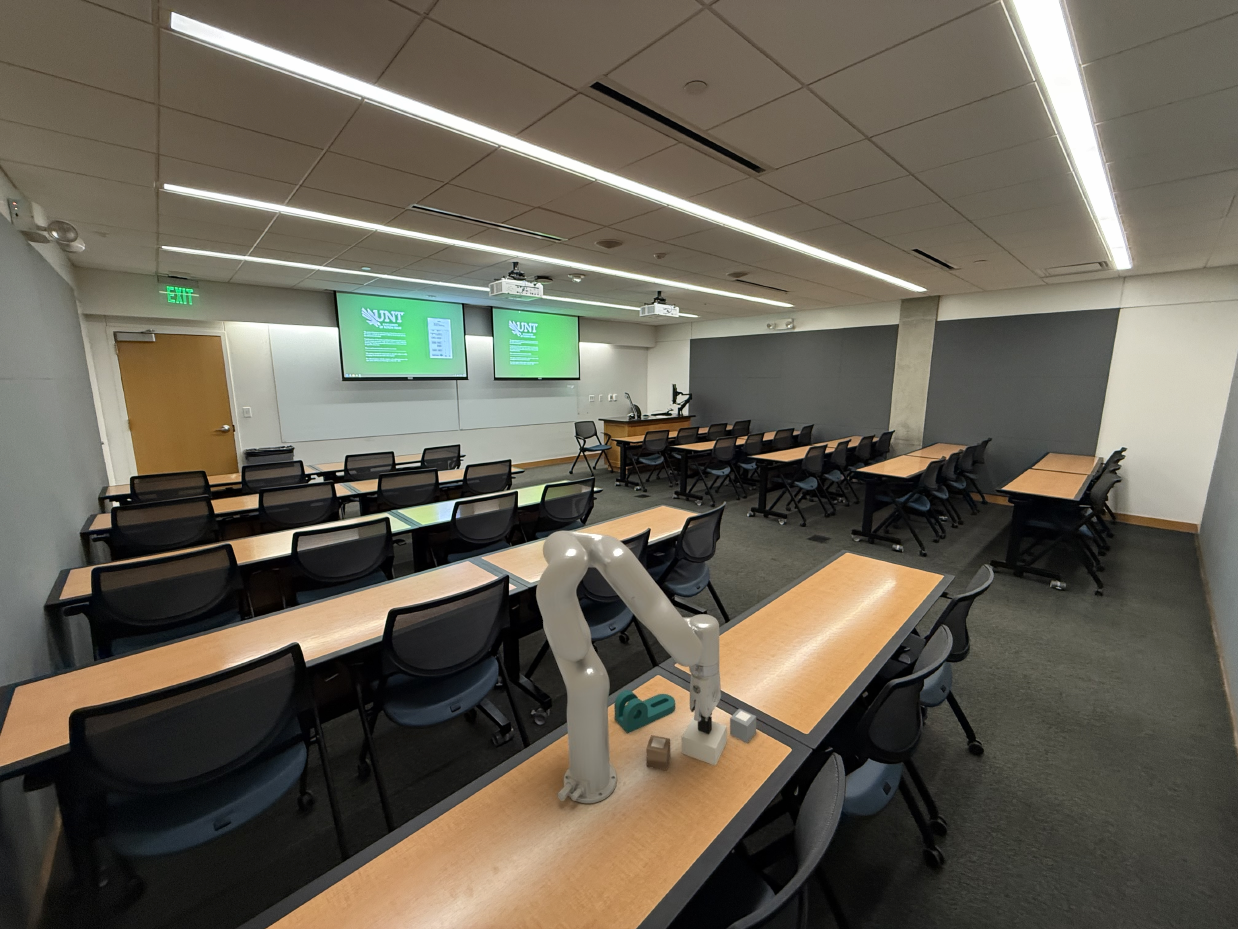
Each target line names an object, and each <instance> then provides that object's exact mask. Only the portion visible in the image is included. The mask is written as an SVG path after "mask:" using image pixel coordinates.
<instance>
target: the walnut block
mask: <svg viewBox="0 0 1238 929" xmlns="http://www.w3.org/2000/svg"><path fill="white" fill-rule="evenodd" d="M671 750H672V749H671V738H670V737H665V736H664V737H663V736H660V735H654V734H651V735H650V736H649V740H648V743H647V745H646V750H645V751H646V756H645V757H646V760H645V761H646V767H647V768H652V769H656V770H661V771H665V772H667V770H668V768H669V764H670V760H671Z"/></svg>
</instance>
